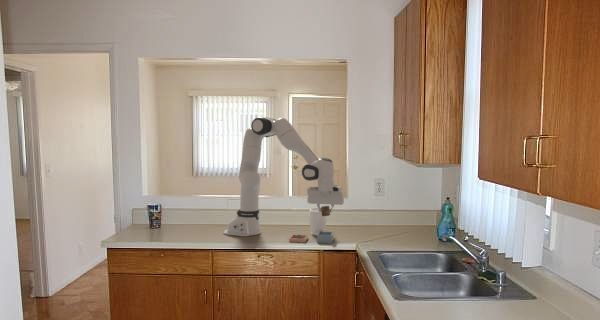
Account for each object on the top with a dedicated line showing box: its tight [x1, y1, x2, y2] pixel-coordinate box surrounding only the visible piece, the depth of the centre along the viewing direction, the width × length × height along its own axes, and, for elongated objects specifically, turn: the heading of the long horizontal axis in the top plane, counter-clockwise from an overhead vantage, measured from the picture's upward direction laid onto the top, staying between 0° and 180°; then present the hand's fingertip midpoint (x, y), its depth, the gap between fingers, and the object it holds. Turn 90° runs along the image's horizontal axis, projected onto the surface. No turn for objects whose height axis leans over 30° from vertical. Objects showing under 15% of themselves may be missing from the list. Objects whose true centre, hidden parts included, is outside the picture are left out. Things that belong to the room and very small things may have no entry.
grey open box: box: [316, 231, 334, 244], centre depth 236 cm, size 8×8×5 cm
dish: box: [288, 234, 309, 243], centre depth 238 cm, size 9×9×2 cm
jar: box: [308, 207, 327, 236], centre depth 254 cm, size 11×10×15 cm
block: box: [320, 205, 331, 217], centre depth 235 cm, size 4×4×5 cm
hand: (325, 212), depth 235 cm, fingers closed on block, 4 cm apart
